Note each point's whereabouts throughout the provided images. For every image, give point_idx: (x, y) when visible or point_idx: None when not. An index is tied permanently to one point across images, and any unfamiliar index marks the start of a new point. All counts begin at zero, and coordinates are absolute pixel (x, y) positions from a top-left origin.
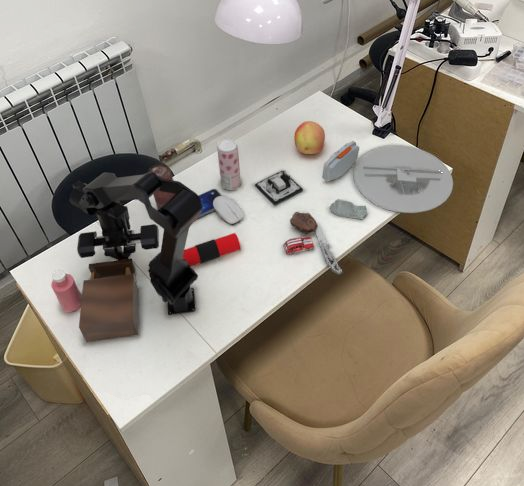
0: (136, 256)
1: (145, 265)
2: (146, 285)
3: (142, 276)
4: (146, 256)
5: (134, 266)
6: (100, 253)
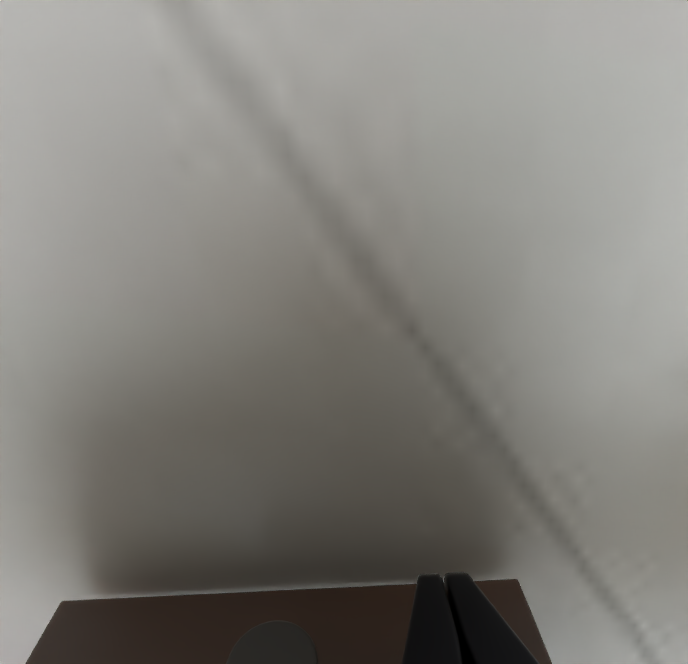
0: (521, 359)
1: (607, 483)
2: (580, 659)
3: (557, 587)
4: (642, 371)
5: (546, 657)
6: (30, 258)
